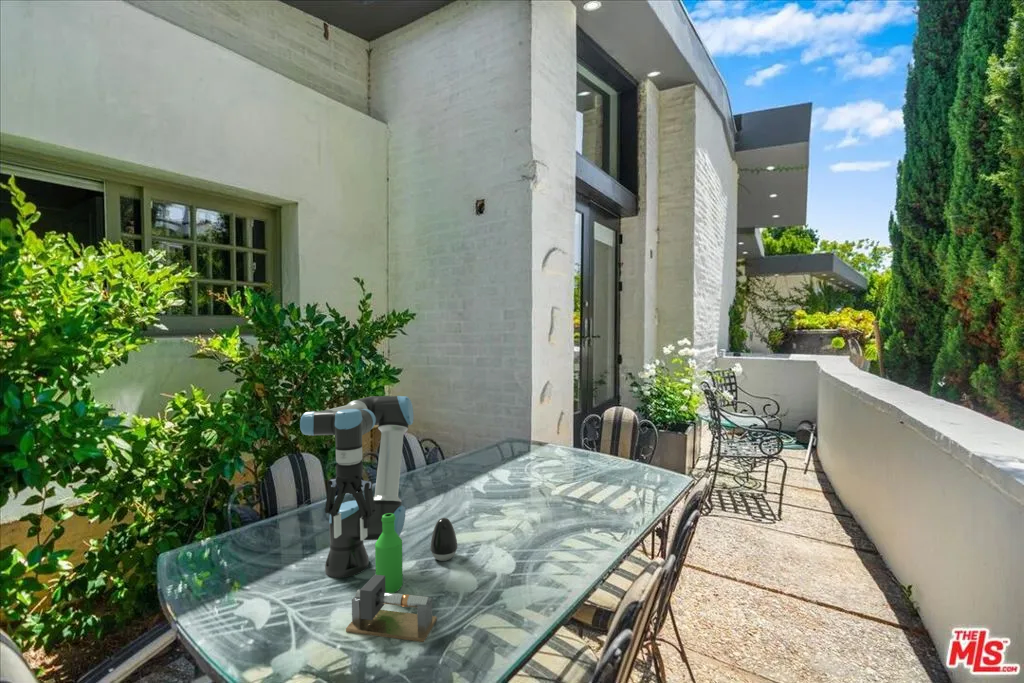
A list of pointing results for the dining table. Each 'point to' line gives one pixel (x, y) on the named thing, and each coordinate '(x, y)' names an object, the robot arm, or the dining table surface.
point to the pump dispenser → (443, 540)
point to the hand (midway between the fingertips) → (350, 537)
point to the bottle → (389, 555)
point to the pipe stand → (395, 617)
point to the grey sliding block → (371, 597)
